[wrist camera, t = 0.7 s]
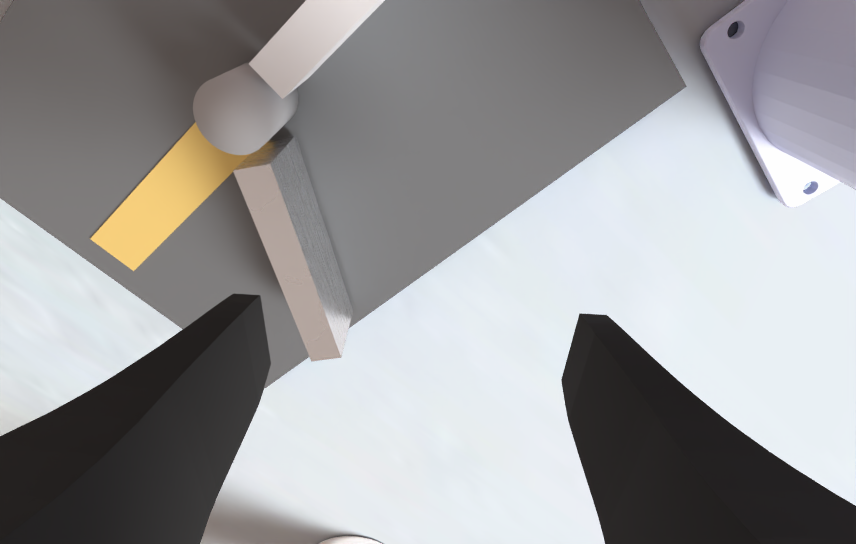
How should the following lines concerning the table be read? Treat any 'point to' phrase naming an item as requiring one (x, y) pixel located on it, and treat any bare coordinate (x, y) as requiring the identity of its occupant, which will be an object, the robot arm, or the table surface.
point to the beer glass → (349, 540)
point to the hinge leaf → (297, 244)
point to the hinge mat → (305, 130)
